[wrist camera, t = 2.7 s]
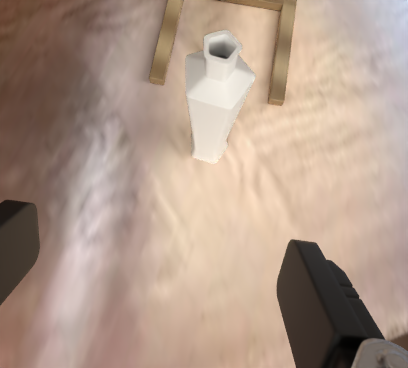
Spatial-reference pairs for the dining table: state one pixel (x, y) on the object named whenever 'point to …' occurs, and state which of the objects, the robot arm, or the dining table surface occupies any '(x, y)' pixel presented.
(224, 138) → the white faceted vase
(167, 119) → the dining table surface
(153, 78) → the brass frame
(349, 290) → the robot arm
